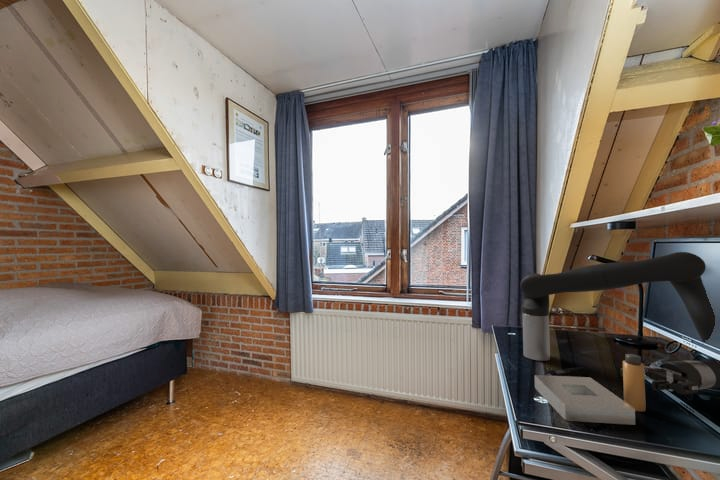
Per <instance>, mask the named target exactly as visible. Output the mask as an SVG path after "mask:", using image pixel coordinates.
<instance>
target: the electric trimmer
mask: <svg viewBox="0 0 720 480" xmlns="http://www.w3.org/2000/svg"><path fill="white" fill-rule="evenodd" d="M586 374H587V369H586V367H585V366H578V367H571V368H564V369H563V368H562V369H557V370H554V369H550V370H548V371H547V372H545V374H544V375H547V376H570V377H583V376H584V375H586Z"/></svg>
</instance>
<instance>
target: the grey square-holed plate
mask: <svg viewBox="0 0 720 480" xmlns="http://www.w3.org/2000/svg"><path fill="white" fill-rule="evenodd" d="M534 389H535V390H536V391H537V392H538V393H539V394H540V395H541V396H542V397H543V398H544V399H545V400H546V401H547V402H548V403H549V405H550V406H551V407H552V408H553V409H554V410H555V411H556V412H557V413H558V414H559V415H560V417H562V419H564V421H566V422H567V421H568V422H584V423H600V424H602V423H603V424H614V425H615V424H616V425H631V426H632V425H634V426H635V425H636V411H635V408H633V407H632V406H630V405H629V404H628V403H626V402H625V401H624V399H622V398H620V396H618V395H616V394H614V393H613V392H612V391H610V390H609V389H607V388H606V387H604V386H603V385H602V384H600V382H598V381H596V380H594V379H593V378H592V377H590V376H589V377H586V376H579V377H570V376H547V375H545V374H534Z"/></svg>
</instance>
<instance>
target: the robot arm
mask: <svg viewBox="0 0 720 480" xmlns="http://www.w3.org/2000/svg"><path fill="white" fill-rule="evenodd" d="M705 271H706V263H705V261H704V259H702V258H701V257H700V256H699V255H697V254H694V253H691V252H688V251H687V252H686V251H677V252H672V253H669V254H665V255H661V256H657V257H652V258H648V259H640V260H633V261H629V260H628V261H617V262H608V263H607V262H606V263H598V264H592V265H585V266H580V267H576V268H573V269H570V270H566V271H563V272H557V273H548V274H540V273H535V272H534V273H530V274H528V275H526V276H524V277H523V278H521V279H522V280H521V281H520V284H519V288H520V291H521V292H522V293H523V294H522V295H523V296H522V297H523V298H522V299H523V300H522V301H523V302H522V309H521V310H522V311H521V312H522V343H523V344H522V347H523V350H522V351H523V354H522V355H523V356H524V357H525V358H527V359H530V360H535V361H539V362H541V361H546V362H547V361H549V360H551V351H550V349H551V347H550V345H551V343H550V340H551V339H550V313H549V312H550V295H556V294H561V293H562V294H563V293H583V292H584V293H585V292H598V291H607V290H608V291H609V290H615V289H622V288H626V287H631V286H635V285H640V284H646V283H647V284H648V283H658V282H659V283H660V282H669V283H670V284H671V285H672V286H673V288H674V289H675V291H676V292H677V294H678V296H679V297H680V299H681V300H682V302H683V304H684V307H685V308H686V311H687V312H688V315H689V317H690V318H691V321H692V323H693V326H694V327H695V329H696V332H697V333H698V335H699V337H700V340H701V342H702V343H703V342H706V341H705V340H708V339H709V338H710V336H711V334H712V332H713V329H714V326H715V315H714V312H713V309H712V307H711V304H710V302H709V299H708V297H707V294H706V291H707V290H705V289H706V288H705V285H704V282H703V280H702V277H701V276H702V275H703V274H704V273H705ZM641 363H642V364H644V375H645V380H648V381H651V389H653V390H654V391H665V390H666V391H668V392H674V391H676V393H677V394H678V395H689V394H697V393H699V390H705V389H709V388H719V387H720V361H717V360H715V359H712V358H708V359H703V360H690V359H689V360H688V359H687V360H672V361H664V362H662V363H661V364H659V366H649V365H648V366H647V363H645V362H641ZM619 373H620V376H621V377H623V367H621V368H619ZM646 373H647V375H648V376H647V375H646Z"/></svg>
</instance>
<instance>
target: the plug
mask: <svg viewBox="0 0 720 480" xmlns="http://www.w3.org/2000/svg"><path fill="white" fill-rule="evenodd" d="M624 357H625V358H624V359H625V360H622V368H623V376H622V377H623V378H622V380H623V383H622V384H623V401H625V402H626V403H628V404H629V405H630V406H632V407H633V408H635V412H646V410H647V409H646V408H647V406H646V403H647V402H646V382H645V380H646V379H645V376H646V374H645V375H644V364H642V363H643V362H642V357H641V356H640V355H638V354H637V355H636V354H632V353H625V354H624Z"/></svg>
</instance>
